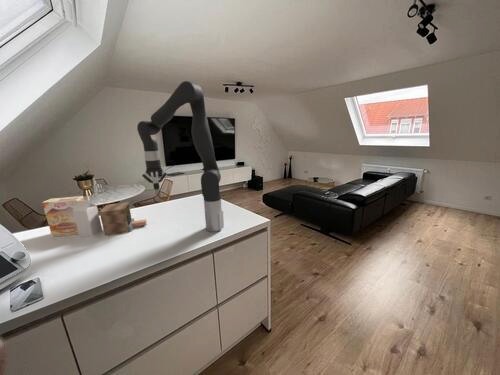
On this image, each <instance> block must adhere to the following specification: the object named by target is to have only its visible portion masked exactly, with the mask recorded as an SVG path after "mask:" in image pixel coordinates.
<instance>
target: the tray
mask: <svg viewBox="0 0 500 375" xmlns="http://www.w3.org/2000/svg"><path fill="white" fill-rule="evenodd" d="M131 218H132V217H131ZM127 224H128V229H129V232H132V231H133V228H134V227H141V226H146V225H147V219H140V220H139V219H138V220H135V218H134V217H133V218H132V220H127ZM129 232H128V233H129Z"/></svg>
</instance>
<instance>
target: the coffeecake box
mask: <svg viewBox="0 0 500 375" xmlns="http://www.w3.org/2000/svg"><path fill="white" fill-rule="evenodd" d="M76 201H85V199H84V196H83V195H82V196H67V197H54V198H49V199H47V200H43V202H41V204H42V207H43V210H44V214H45V217H46V221H47V223H48V227H49V230H50V233H51V237H52V238H55V237H61V236H62V237H63V236H72V235H79V233H78V229H77V225H76V221H75V218H74V214H73V209H74V207H75V205H76V203H77V202H76Z"/></svg>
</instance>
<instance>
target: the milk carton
mask: <svg viewBox="0 0 500 375" xmlns="http://www.w3.org/2000/svg"><path fill="white" fill-rule="evenodd" d="M76 202H77V203H76V205H75V207H74V209H73V214H74V218H75V221H76V225H77V229H78V233H79V234H78V236H79V238H91V237H92V238H93V237H94V236H96V235H98V234H99V233H101V232H102V231H103V225H102V221H101V217H100V212H99V211H98V206H97V205H96V204H94V203H93V202H91V200H84V201H76Z"/></svg>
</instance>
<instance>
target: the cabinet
mask: <svg viewBox="0 0 500 375" xmlns="http://www.w3.org/2000/svg"><path fill="white" fill-rule="evenodd" d="M99 218H100V222H101V226H102V231H103V234H104V236H105V237H107V236H113V235H121V234H126V233H129V229H128V224H127V220H132V213H131V208H130V203H129V201H127V202H118V203H110V204H106V205H105V206H104V207H103V208H102V209H101V210H100V211H99Z"/></svg>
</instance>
